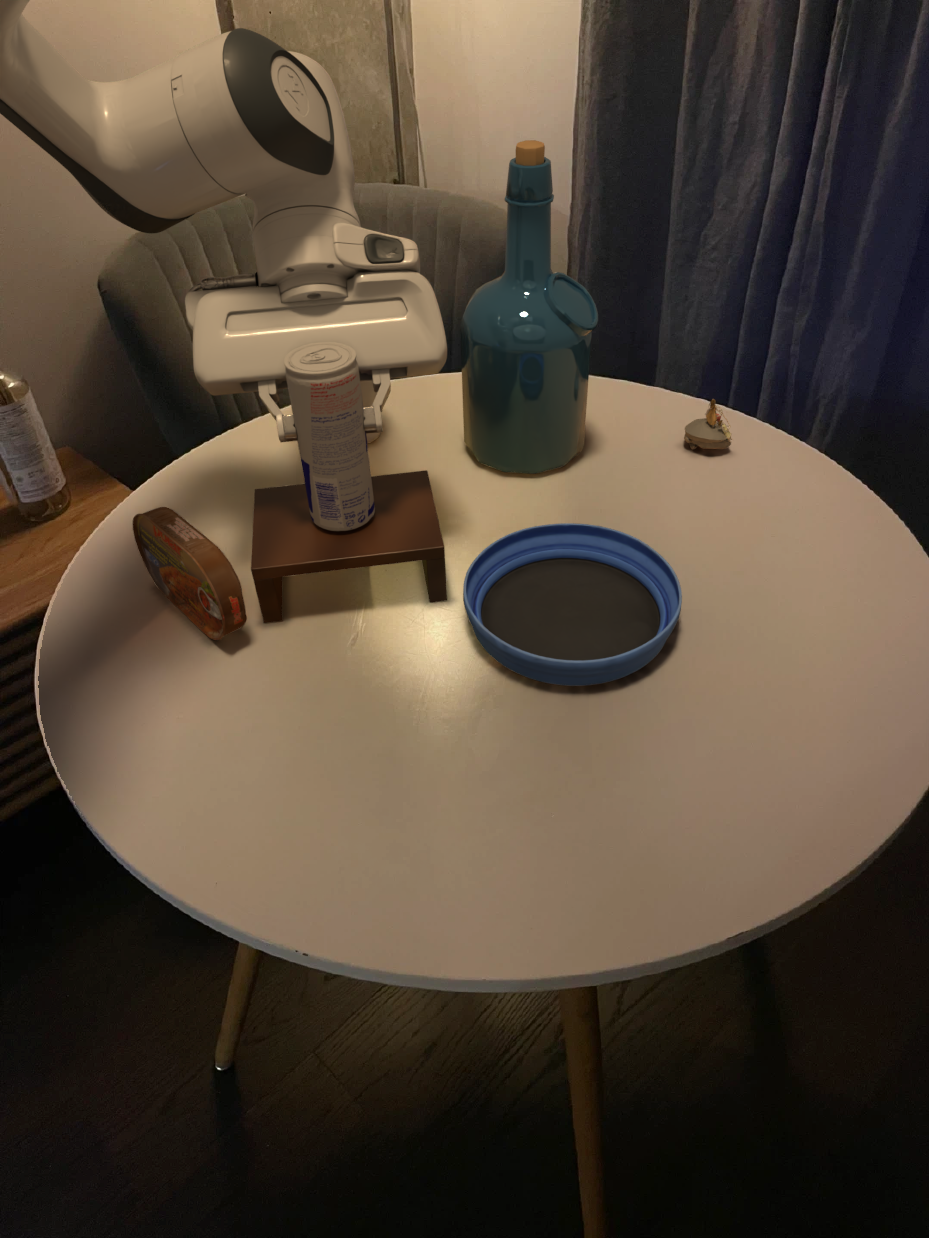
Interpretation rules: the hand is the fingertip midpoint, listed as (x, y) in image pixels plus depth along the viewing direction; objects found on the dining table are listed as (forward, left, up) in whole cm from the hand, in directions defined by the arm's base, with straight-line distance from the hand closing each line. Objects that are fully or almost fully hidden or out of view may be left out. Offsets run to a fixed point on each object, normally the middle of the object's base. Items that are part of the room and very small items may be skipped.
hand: (332, 435), depth 72 cm
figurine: (+39, +15, -15) cm, 44 cm away
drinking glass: (+2, +25, -15) cm, 29 cm away
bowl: (+18, -9, -15) cm, 25 cm away
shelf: (0, +1, -14) cm, 14 cm away
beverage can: (0, +1, -9) cm, 9 cm away
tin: (-14, -2, -15) cm, 20 cm away
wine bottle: (+20, +19, -15) cm, 31 cm away
